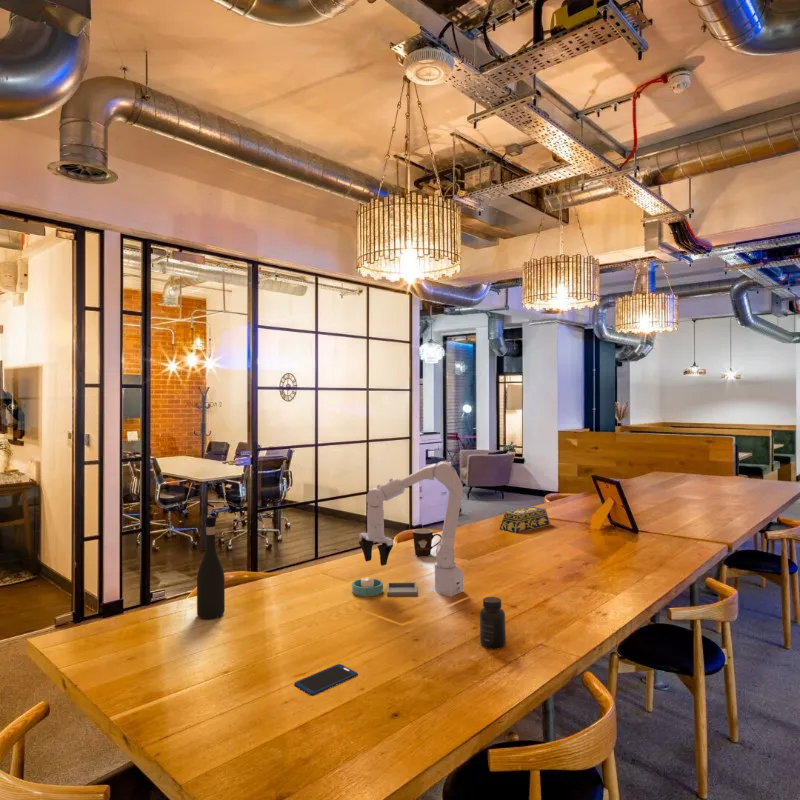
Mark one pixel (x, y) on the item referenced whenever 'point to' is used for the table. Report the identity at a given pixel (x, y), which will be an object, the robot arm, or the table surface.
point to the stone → (367, 582)
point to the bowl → (367, 591)
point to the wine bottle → (210, 578)
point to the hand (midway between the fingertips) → (375, 562)
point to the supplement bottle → (492, 624)
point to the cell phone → (325, 679)
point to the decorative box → (524, 519)
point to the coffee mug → (423, 541)
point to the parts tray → (402, 589)
